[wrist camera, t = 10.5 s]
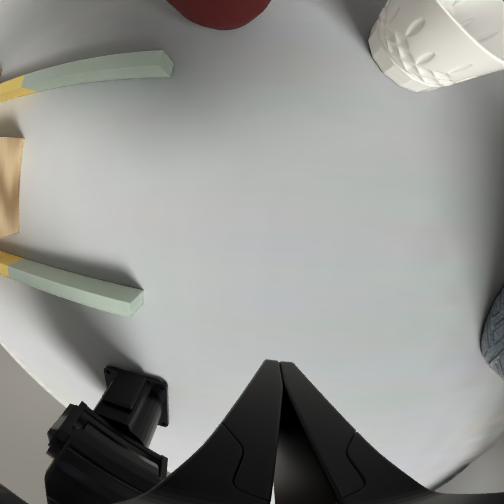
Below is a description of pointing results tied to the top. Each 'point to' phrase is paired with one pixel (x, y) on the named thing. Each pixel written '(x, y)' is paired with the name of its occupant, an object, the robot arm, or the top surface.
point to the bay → (68, 74)
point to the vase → (494, 336)
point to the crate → (10, 184)
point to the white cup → (438, 41)
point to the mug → (220, 12)
